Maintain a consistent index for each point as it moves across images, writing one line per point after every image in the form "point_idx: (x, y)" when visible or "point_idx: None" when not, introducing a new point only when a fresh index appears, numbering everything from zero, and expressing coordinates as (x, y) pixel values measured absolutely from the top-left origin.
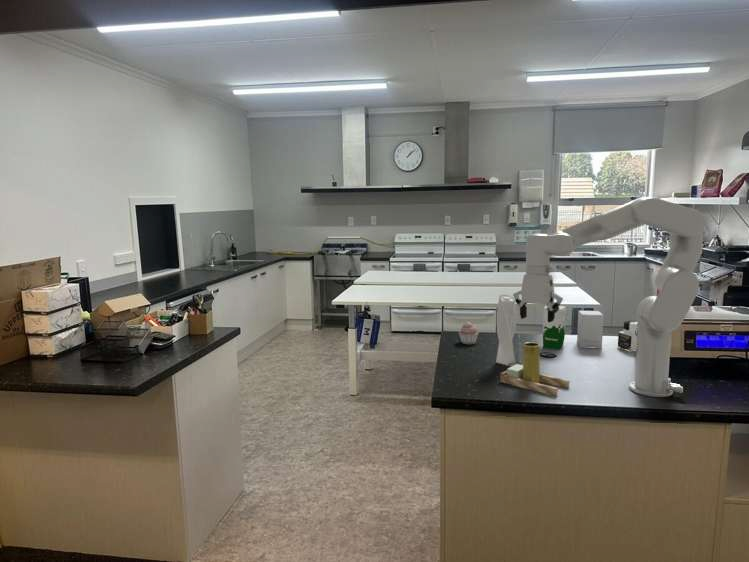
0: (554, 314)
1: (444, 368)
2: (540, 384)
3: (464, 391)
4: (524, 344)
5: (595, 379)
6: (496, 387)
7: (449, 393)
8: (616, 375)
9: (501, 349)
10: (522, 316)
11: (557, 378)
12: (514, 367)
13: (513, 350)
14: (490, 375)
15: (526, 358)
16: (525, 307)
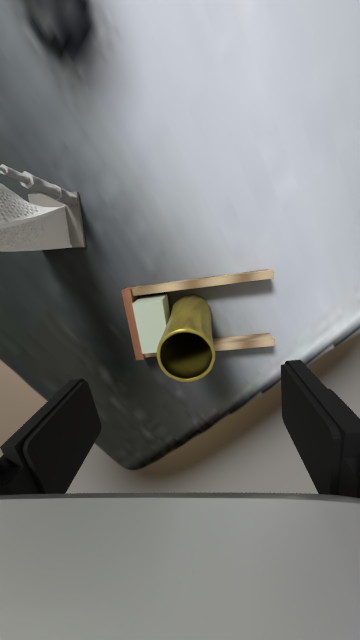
0: (352, 414)
1: (14, 366)
2: (234, 346)
3: (134, 430)
4: (169, 376)
5: (296, 147)
6: (157, 379)
7: (125, 450)
8: (338, 37)
9: (26, 250)
10: (93, 440)
11: (243, 280)
12: (146, 333)
13: (44, 213)
14: (100, 332)
15: (185, 357)
16: (37, 464)
